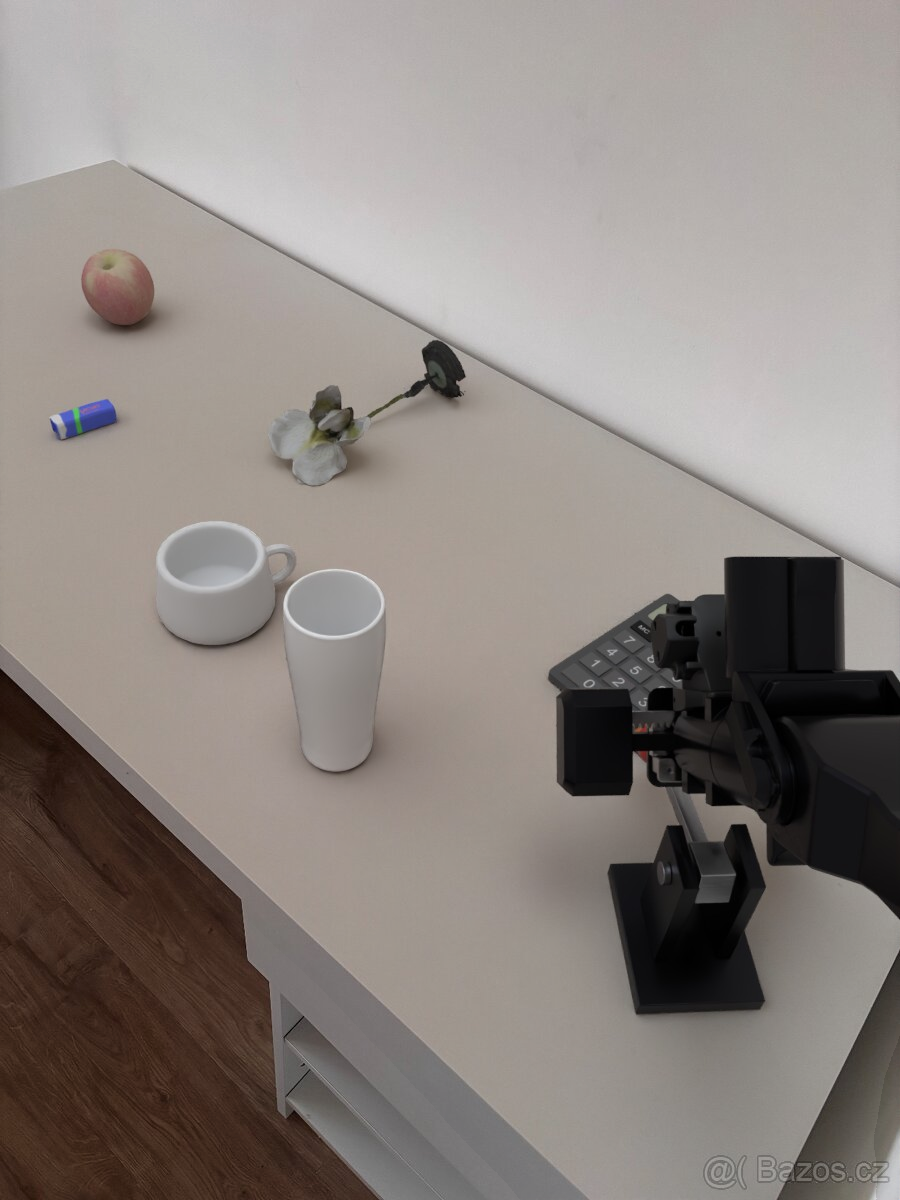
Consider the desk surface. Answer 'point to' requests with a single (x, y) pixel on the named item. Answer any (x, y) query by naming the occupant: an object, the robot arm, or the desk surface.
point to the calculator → (620, 660)
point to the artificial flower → (348, 420)
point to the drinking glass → (335, 663)
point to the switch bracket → (688, 929)
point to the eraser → (83, 419)
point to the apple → (118, 286)
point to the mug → (217, 582)
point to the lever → (702, 849)
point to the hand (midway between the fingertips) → (672, 725)
